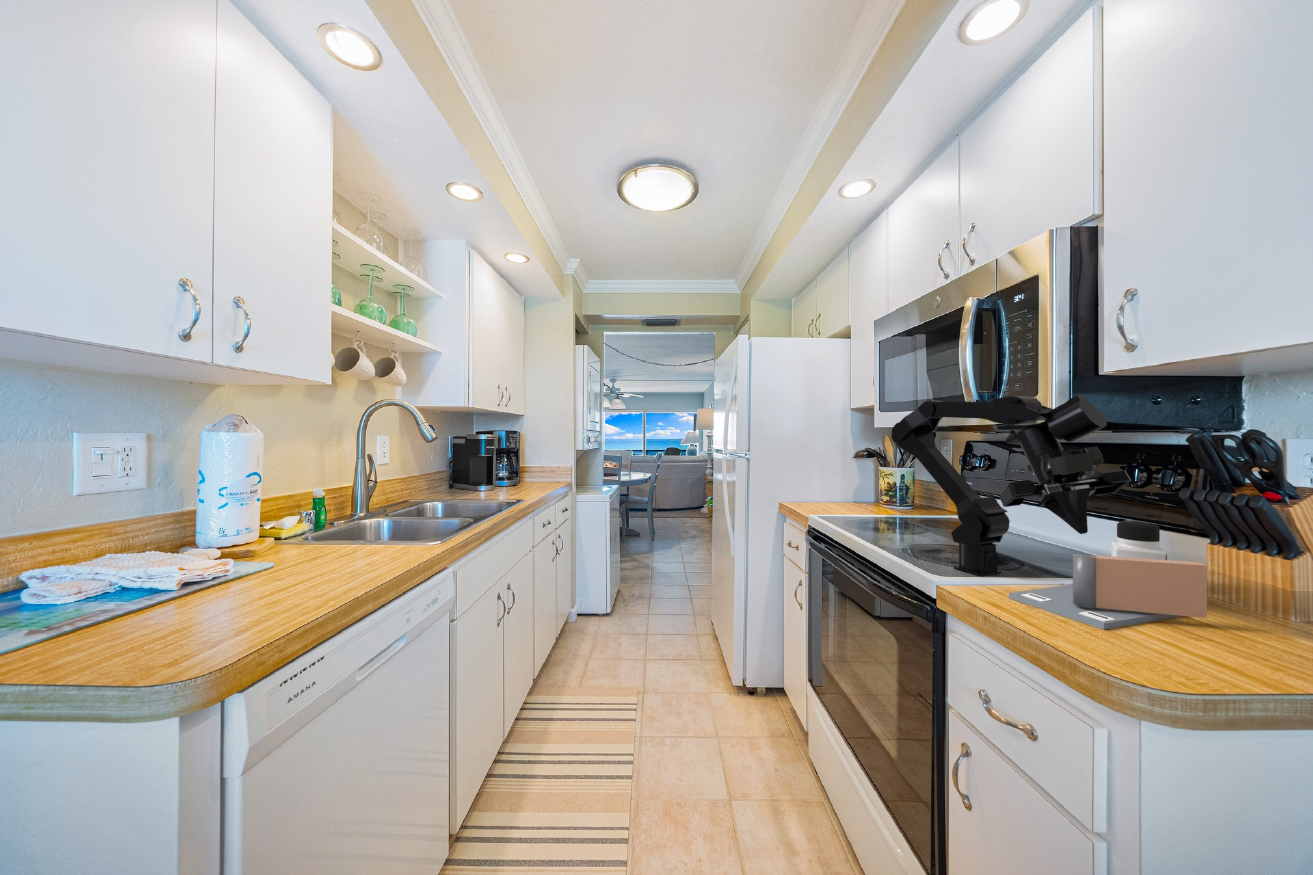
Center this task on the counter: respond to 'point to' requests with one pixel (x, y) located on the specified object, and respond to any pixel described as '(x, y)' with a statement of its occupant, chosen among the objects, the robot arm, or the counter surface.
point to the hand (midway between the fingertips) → (1084, 533)
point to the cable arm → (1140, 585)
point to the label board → (1082, 608)
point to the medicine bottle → (1138, 541)
